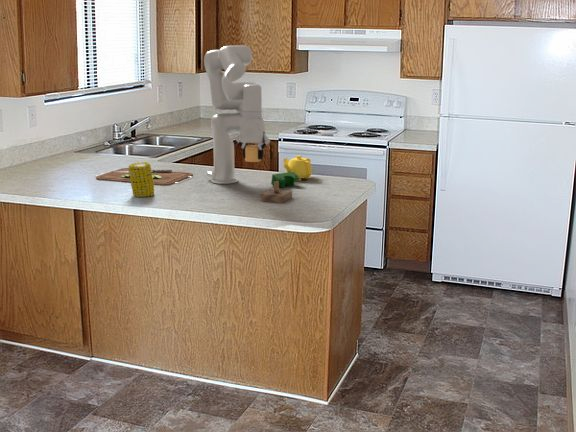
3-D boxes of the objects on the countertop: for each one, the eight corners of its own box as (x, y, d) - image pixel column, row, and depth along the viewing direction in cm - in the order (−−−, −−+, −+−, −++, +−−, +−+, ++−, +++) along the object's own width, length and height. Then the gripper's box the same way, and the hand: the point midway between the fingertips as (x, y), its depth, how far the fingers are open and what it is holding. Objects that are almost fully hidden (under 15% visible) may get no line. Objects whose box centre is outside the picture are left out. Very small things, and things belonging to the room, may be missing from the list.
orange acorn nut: (243, 161, 312) (243, 146, 310) (249, 158, 317) (249, 144, 315) (256, 162, 309) (256, 147, 308) (262, 159, 315) (262, 145, 313)
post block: (260, 200, 315) (260, 183, 313) (270, 195, 324) (270, 178, 322) (283, 203, 312) (283, 185, 310) (291, 197, 321) (291, 180, 319)
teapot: (283, 175, 365) (283, 152, 362) (311, 175, 365) (311, 153, 362) (283, 182, 351) (283, 158, 348) (312, 182, 351) (312, 158, 348)
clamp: (280, 197, 340) (276, 181, 334) (273, 192, 344) (269, 176, 339) (302, 185, 344) (298, 169, 338) (295, 179, 348) (291, 164, 342)
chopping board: (88, 180, 357) (88, 173, 357) (120, 169, 382) (119, 163, 381) (172, 187, 342) (172, 180, 341) (199, 176, 366) (199, 170, 366)
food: (156, 200, 323) (132, 202, 320) (153, 188, 333) (129, 191, 330) (153, 167, 315) (129, 170, 313) (150, 156, 325) (126, 159, 323)
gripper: (229, 114, 308) (230, 158, 313) (267, 117, 302) (268, 161, 306) (237, 112, 315) (238, 155, 320) (275, 114, 308) (275, 158, 313)
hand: (253, 158), depth 313 cm, fingers closed on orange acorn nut, 6 cm apart
